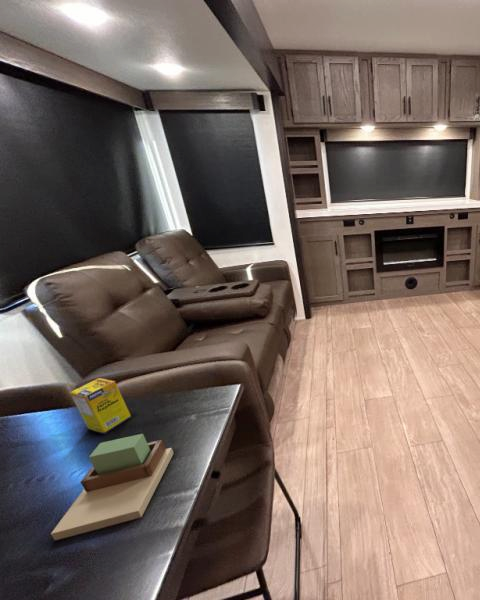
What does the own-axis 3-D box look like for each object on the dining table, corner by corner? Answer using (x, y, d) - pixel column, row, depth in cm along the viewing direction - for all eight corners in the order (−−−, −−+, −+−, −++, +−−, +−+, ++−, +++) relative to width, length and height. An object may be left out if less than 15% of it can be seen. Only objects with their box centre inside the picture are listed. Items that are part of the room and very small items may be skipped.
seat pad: (142, 519, 53) (132, 500, 51) (55, 542, 50) (42, 523, 49) (174, 454, 66) (167, 437, 64) (106, 470, 63) (97, 453, 61)
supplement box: (132, 418, 78) (115, 380, 74) (105, 436, 72) (84, 396, 69) (117, 414, 80) (99, 377, 76) (88, 431, 74) (68, 392, 70)
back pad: (145, 471, 60) (133, 447, 58) (101, 482, 58) (88, 457, 56) (153, 457, 63) (143, 433, 61) (112, 466, 61) (100, 442, 59)
